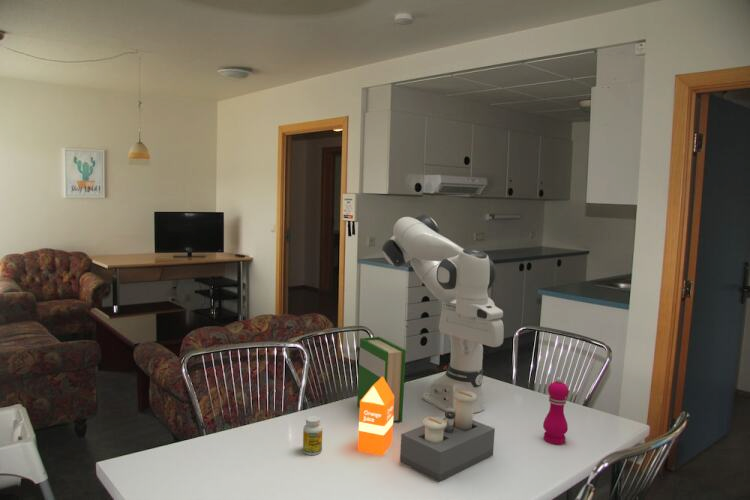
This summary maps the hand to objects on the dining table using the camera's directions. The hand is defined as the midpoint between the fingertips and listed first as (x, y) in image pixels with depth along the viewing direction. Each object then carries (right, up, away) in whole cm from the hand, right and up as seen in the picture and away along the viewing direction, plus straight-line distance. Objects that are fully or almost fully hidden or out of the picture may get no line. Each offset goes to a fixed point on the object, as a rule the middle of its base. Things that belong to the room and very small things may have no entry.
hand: (468, 355), depth 161 cm
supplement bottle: (-44, -27, -1) cm, 52 cm away
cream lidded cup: (-1, -21, +2) cm, 22 cm away
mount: (-6, -29, -2) cm, 30 cm away
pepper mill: (+29, -29, +14) cm, 43 cm away
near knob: (-11, -27, -6) cm, 29 cm away
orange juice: (-26, -28, +4) cm, 38 cm away
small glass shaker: (-6, -21, -2) cm, 22 cm away
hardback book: (-25, -25, +28) cm, 46 cm away
